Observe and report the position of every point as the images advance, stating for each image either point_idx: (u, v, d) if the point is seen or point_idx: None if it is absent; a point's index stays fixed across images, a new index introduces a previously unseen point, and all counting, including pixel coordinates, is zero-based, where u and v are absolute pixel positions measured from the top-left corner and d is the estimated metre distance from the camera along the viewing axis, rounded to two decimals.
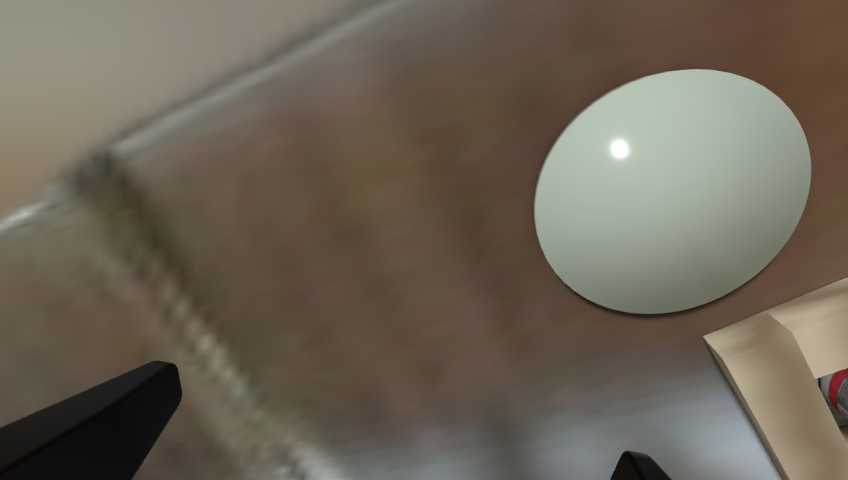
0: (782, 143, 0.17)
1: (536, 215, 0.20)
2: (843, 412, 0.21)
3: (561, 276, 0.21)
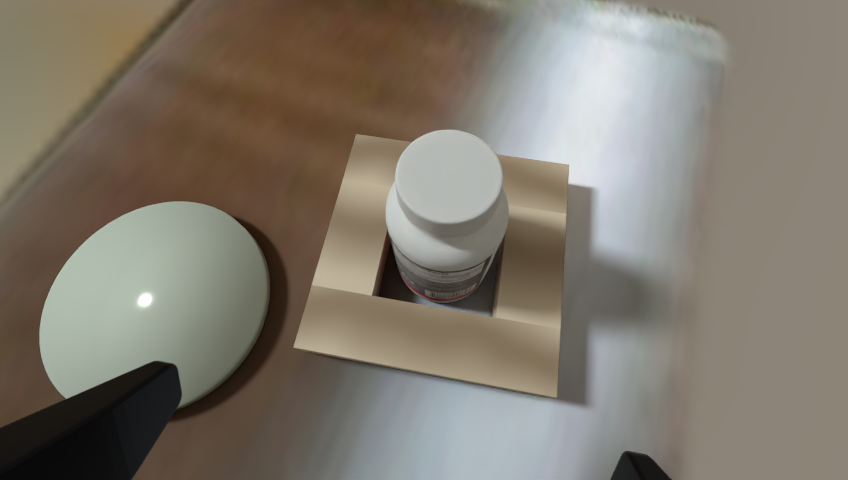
0: (190, 214, 0.23)
1: (58, 389, 0.20)
2: (433, 296, 0.21)
3: None
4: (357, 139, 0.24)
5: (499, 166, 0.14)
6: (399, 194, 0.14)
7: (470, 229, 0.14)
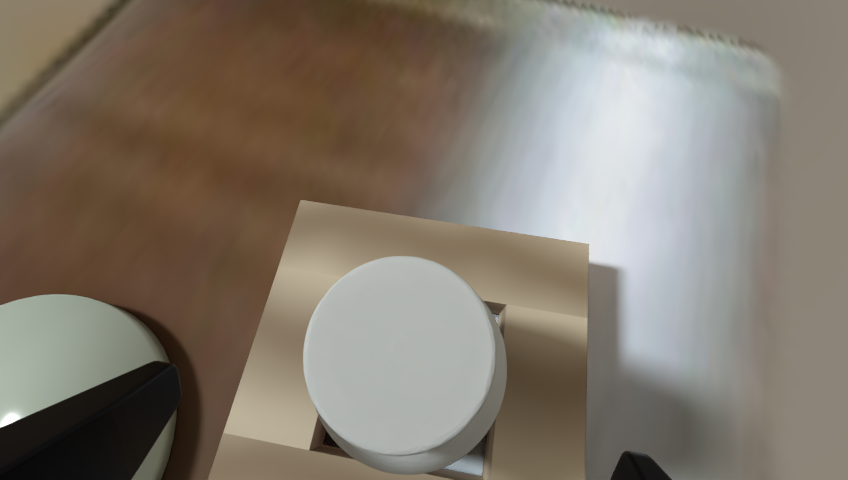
0: (70, 314, 0.17)
1: None
2: None
3: None
4: (301, 207, 0.18)
5: (489, 331, 0.08)
6: None
7: None
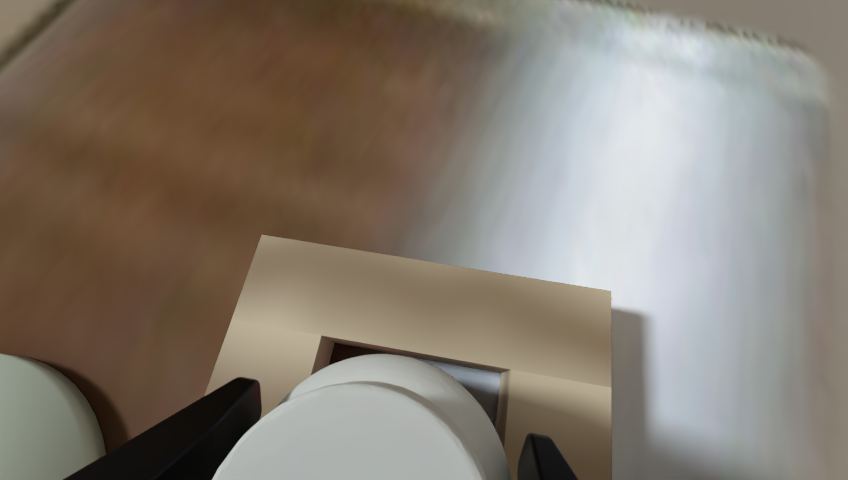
0: None
1: None
2: None
3: None
4: (262, 244, 0.15)
5: None
6: None
7: None
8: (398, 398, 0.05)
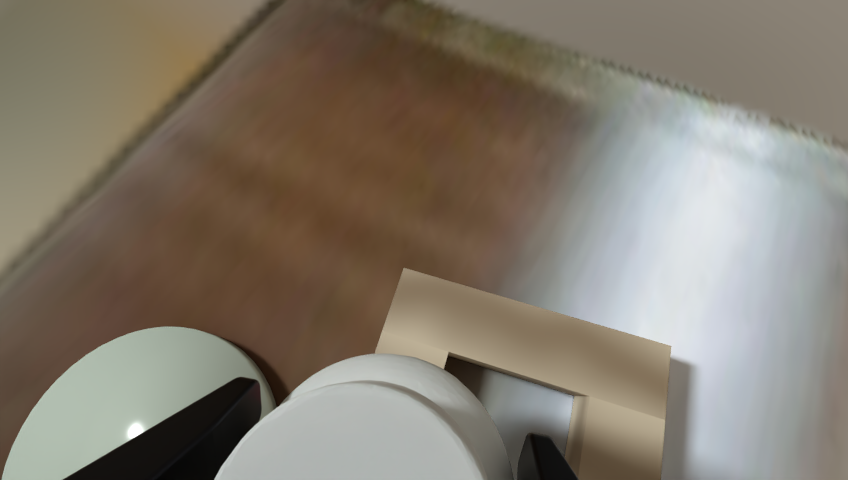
0: (195, 348, 0.19)
1: None
2: None
3: None
4: (404, 275, 0.19)
5: None
6: None
7: None
8: (399, 397, 0.05)
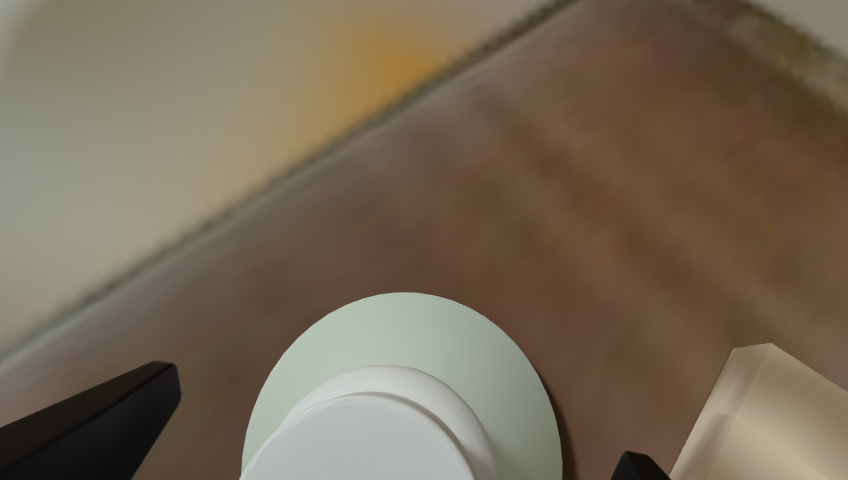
0: (481, 338, 0.16)
1: None
2: None
3: None
4: (771, 353, 0.15)
5: None
6: None
7: None
8: (401, 408, 0.06)
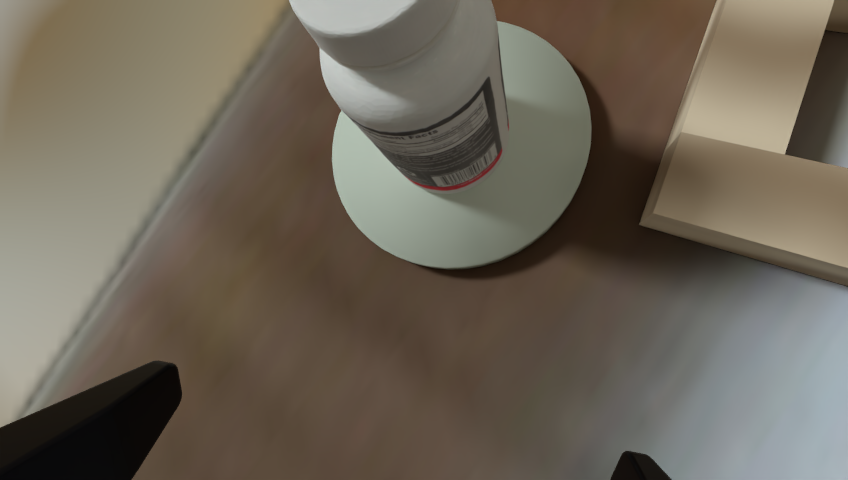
0: None
1: (356, 223, 0.18)
2: (447, 183, 0.16)
3: (420, 261, 0.17)
4: None
5: None
6: (301, 19, 0.09)
7: (428, 29, 0.09)
8: None
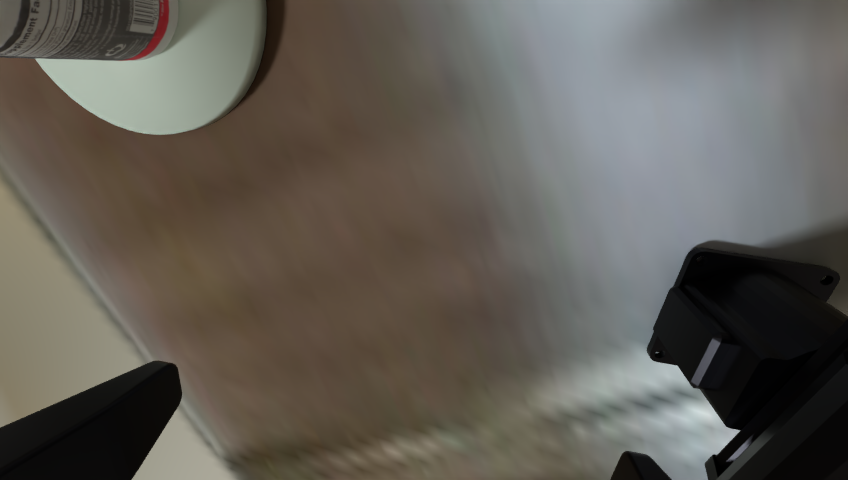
0: None
1: (169, 133, 0.19)
2: (151, 22, 0.15)
3: (227, 99, 0.18)
4: None
5: None
6: None
7: None
8: None
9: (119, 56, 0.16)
